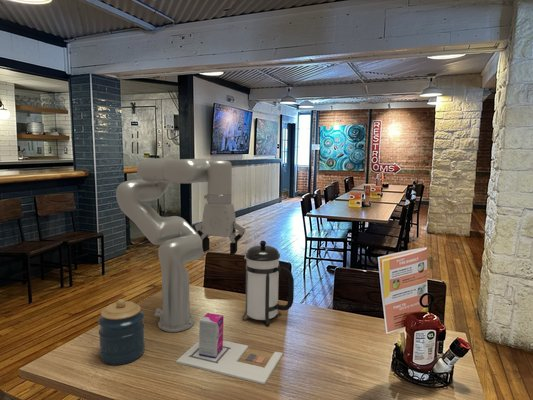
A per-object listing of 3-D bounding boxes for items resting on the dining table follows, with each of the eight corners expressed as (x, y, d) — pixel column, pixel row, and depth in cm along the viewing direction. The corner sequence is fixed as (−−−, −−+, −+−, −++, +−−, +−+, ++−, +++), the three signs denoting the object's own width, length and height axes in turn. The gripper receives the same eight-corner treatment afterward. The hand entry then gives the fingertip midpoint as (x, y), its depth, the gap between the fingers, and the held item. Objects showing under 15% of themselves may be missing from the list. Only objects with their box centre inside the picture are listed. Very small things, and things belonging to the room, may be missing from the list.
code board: (176, 362, 110) (176, 360, 110) (203, 337, 125) (203, 335, 125) (264, 384, 101) (264, 382, 101) (282, 354, 116) (282, 352, 116)
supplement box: (216, 359, 112) (216, 322, 110) (198, 355, 113) (198, 320, 112) (223, 349, 117) (223, 314, 116) (206, 346, 119) (206, 312, 117)
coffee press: (246, 330, 131) (247, 247, 127) (239, 311, 147) (239, 236, 143) (293, 325, 135) (295, 245, 131) (281, 307, 151) (283, 235, 147)
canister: (130, 368, 107) (128, 310, 105) (90, 363, 109) (87, 306, 107) (152, 345, 120) (151, 293, 117) (115, 341, 122) (113, 289, 120)
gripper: (189, 199, 116) (189, 252, 119) (239, 202, 110) (239, 258, 113) (201, 196, 123) (201, 246, 126) (249, 199, 117) (248, 252, 120)
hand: (219, 252), depth 119 cm, fingers open, 9 cm apart
